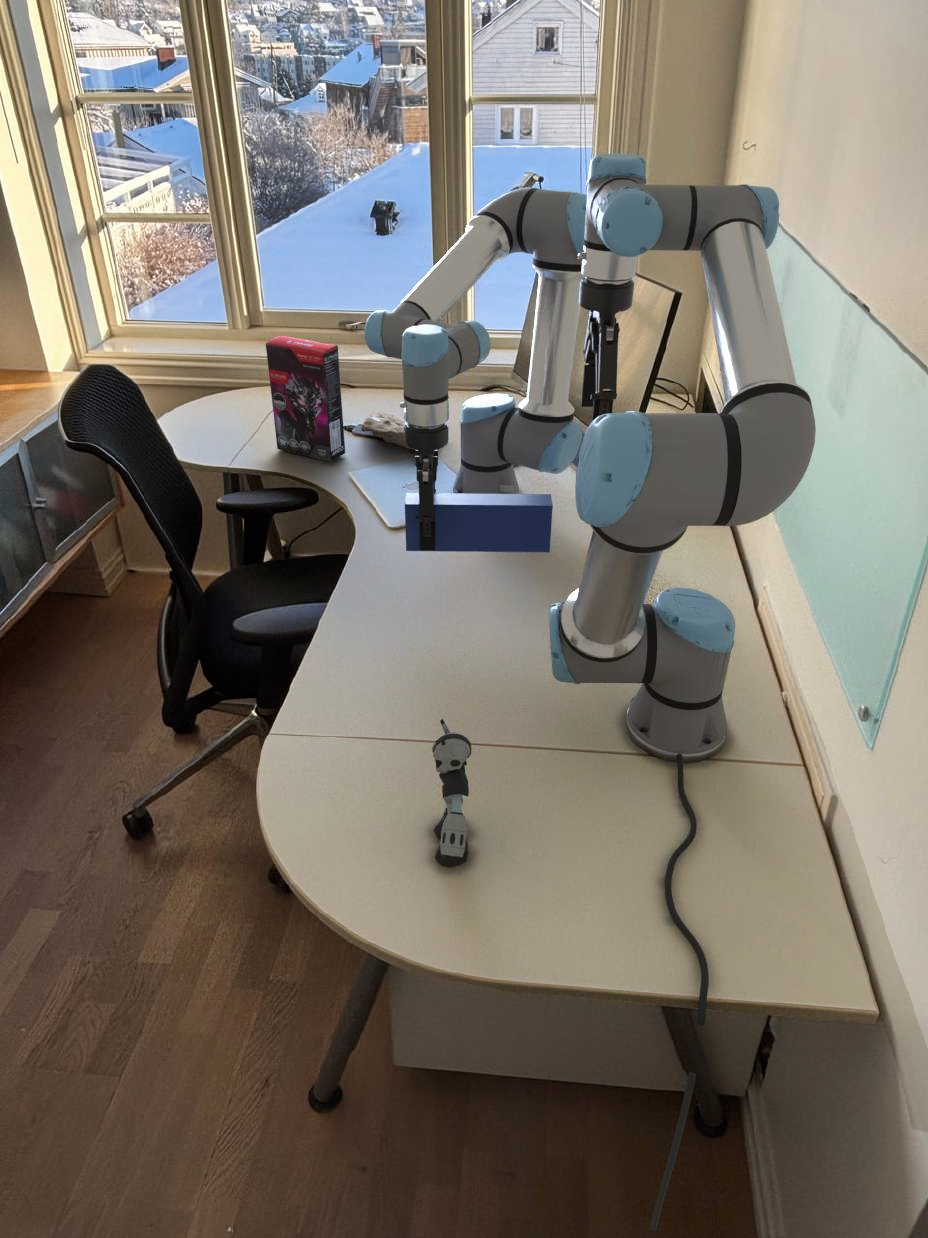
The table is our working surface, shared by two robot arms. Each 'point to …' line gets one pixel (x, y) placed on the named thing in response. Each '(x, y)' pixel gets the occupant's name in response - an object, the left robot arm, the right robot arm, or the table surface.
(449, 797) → the robot
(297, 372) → the graphics card box
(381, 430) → the stone
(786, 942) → the table surface
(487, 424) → the left robot arm
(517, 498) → the bar
